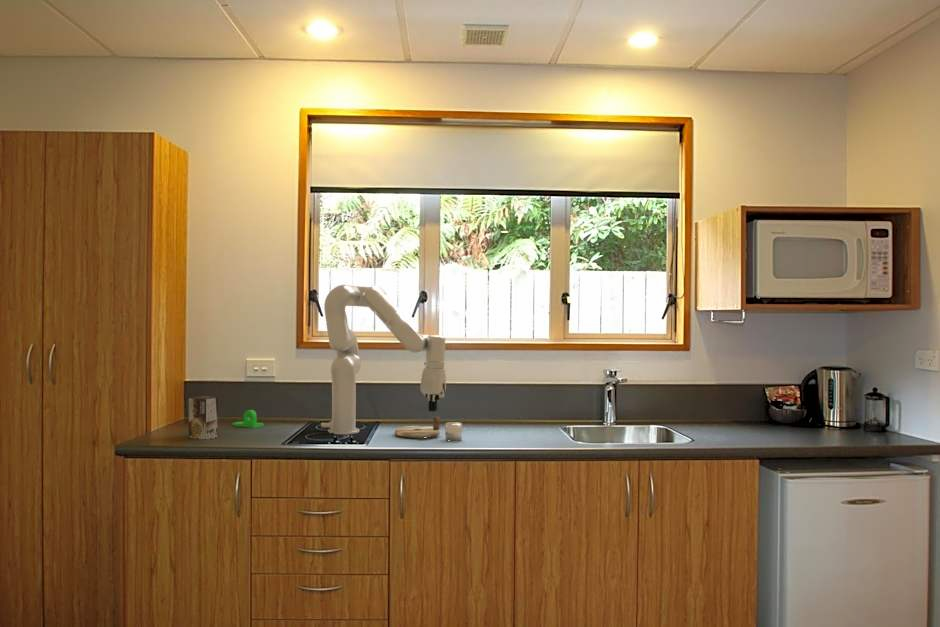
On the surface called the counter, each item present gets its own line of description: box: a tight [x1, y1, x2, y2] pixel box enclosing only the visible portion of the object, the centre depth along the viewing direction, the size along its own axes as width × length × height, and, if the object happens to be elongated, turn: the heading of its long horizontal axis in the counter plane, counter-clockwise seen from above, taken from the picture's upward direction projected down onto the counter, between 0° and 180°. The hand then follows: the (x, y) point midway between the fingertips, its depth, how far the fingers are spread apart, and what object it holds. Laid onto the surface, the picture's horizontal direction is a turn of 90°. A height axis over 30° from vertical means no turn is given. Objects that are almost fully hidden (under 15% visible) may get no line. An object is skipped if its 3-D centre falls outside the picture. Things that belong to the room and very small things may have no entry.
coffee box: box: [188, 395, 219, 440], centre depth 274 cm, size 9×6×16 cm
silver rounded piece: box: [444, 421, 463, 442], centre depth 277 cm, size 6×6×7 cm
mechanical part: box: [231, 409, 264, 429], centre depth 303 cm, size 12×6×8 cm, turn 62°
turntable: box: [394, 416, 441, 438], centre depth 285 cm, size 18×18×6 cm
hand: (432, 410), depth 288 cm, fingers closed
